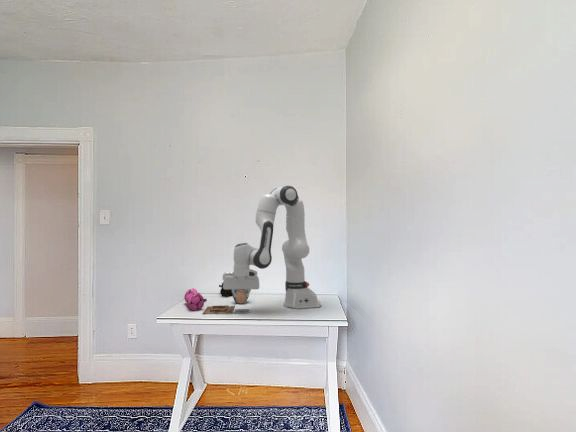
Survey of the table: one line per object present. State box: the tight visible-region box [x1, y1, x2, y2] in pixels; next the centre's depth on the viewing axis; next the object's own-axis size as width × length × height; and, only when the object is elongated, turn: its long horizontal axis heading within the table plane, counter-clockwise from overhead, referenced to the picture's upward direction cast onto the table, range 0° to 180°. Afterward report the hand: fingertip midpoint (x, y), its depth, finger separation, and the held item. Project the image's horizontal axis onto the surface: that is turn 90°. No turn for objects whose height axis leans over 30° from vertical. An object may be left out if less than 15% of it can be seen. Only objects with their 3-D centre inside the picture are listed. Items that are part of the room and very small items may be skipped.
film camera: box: [218, 282, 233, 298], centre depth 235 cm, size 18×12×10 cm
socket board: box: [202, 304, 236, 315], centre depth 197 cm, size 16×16×2 cm
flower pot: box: [232, 289, 249, 305], centre depth 215 cm, size 9×9×9 cm
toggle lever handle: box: [235, 290, 247, 304], centre depth 191 cm, size 10×5×6 cm, turn 15°
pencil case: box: [183, 288, 208, 311], centre depth 206 cm, size 21×10×10 cm, turn 27°
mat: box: [233, 308, 250, 315], centre depth 194 cm, size 8×8×1 cm
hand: (241, 297), depth 194 cm, fingers closed on toggle lever handle, 5 cm apart
